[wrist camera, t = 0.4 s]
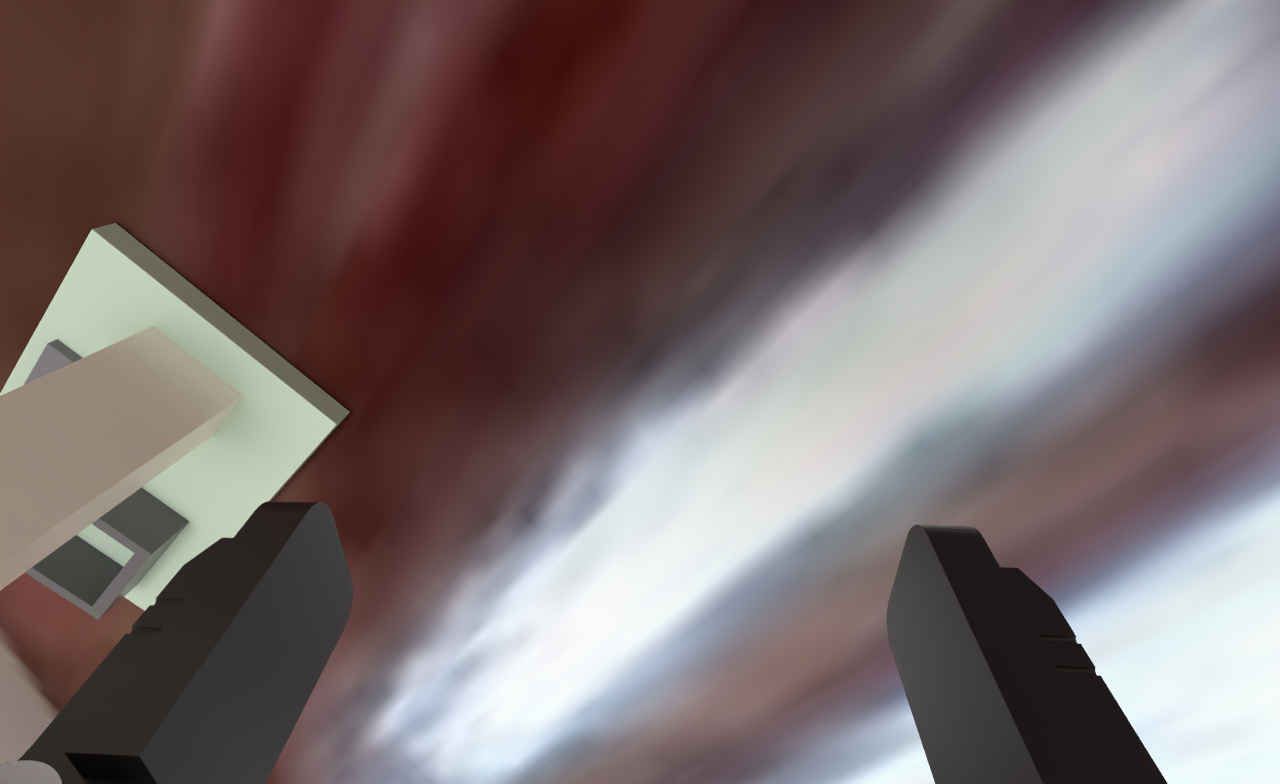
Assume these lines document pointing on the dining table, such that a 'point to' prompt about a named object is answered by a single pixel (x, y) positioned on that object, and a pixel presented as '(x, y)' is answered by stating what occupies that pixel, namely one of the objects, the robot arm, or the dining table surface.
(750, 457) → the dining table surface
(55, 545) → the cream rectangular pillar
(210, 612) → the robot arm
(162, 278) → the board
